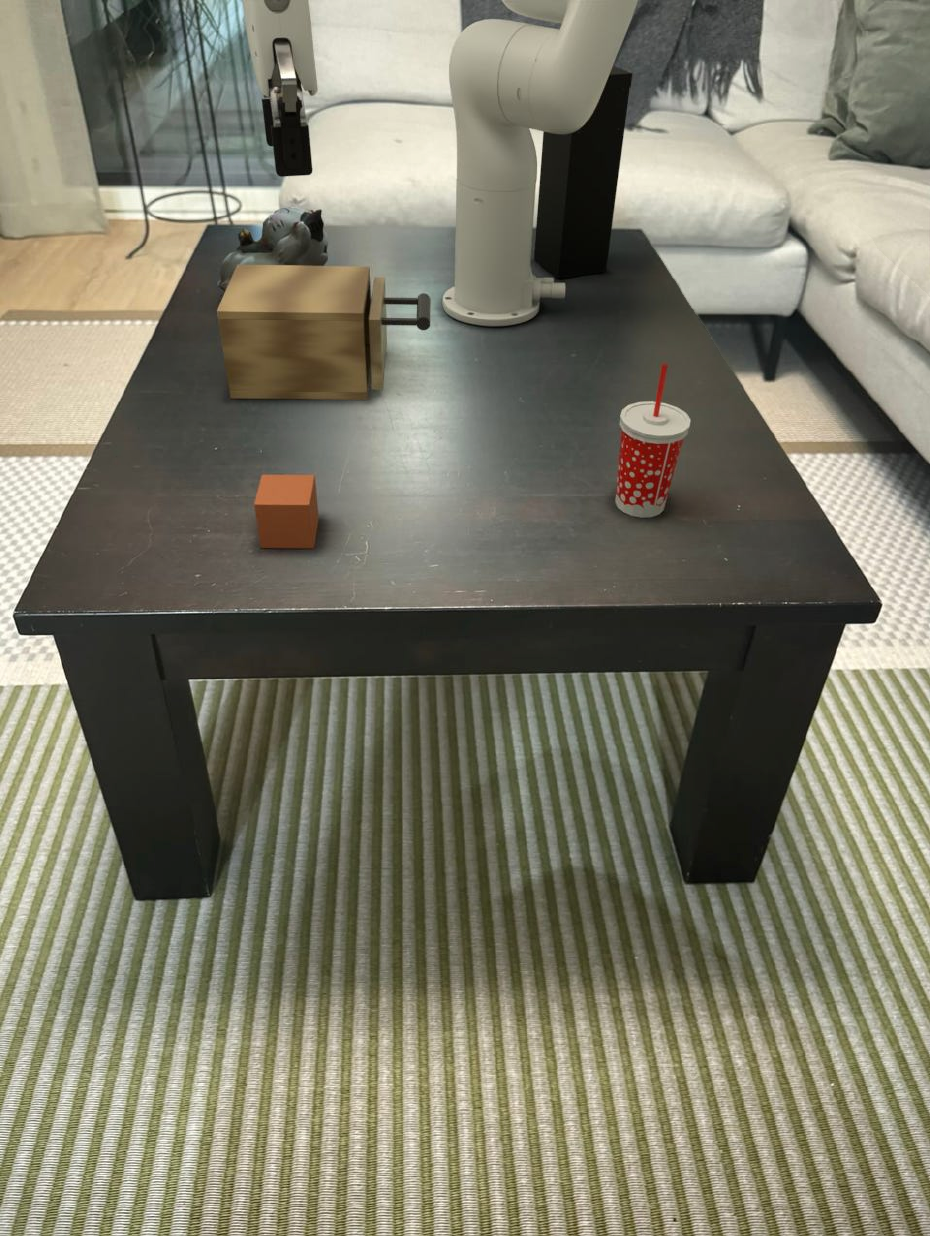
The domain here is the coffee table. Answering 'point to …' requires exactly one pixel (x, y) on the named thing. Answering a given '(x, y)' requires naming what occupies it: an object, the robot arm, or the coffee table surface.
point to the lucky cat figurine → (281, 243)
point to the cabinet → (297, 332)
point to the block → (287, 511)
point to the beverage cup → (649, 453)
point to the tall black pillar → (582, 186)
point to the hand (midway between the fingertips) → (288, 159)
